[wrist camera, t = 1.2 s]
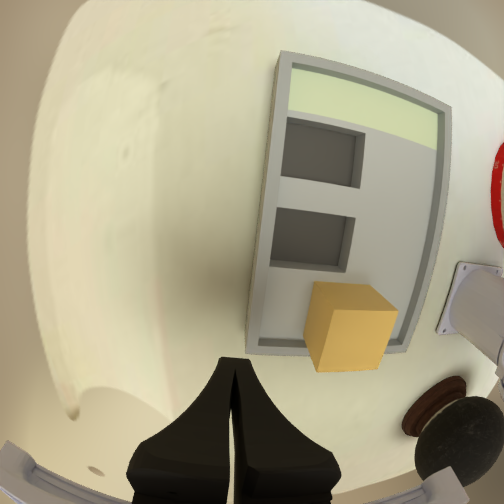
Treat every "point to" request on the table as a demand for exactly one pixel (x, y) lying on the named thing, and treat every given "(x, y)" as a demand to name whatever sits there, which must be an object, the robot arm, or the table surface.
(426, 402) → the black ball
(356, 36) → the table surface
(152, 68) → the table surface
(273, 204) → the box
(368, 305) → the block
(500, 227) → the kitchen timer
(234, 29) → the table surface
